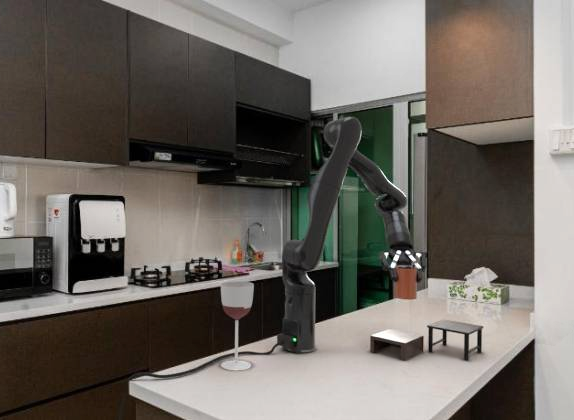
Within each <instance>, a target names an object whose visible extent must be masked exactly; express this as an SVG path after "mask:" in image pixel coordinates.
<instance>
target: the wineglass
mask: <svg viewBox="0 0 574 420" xmlns="http://www.w3.org/2000/svg"><path fill="white" fill-rule="evenodd" d="M254 289H255V284H254V283H253V282H249V281H226V282H221V283H220V297H221V305H222V308H223V312H224V313H225V314H226V315H227V316H229V318H232V319H233V320H234V326H235V327H234V353H235V355H234V360H226V361H224V362H222V363H221V364H220V366H221V368H222V369H225V370H228V371H246V370H249V369H250V368H251V367H252V364H251V363H250V362H248V361H245V360H239V355H238V352H239V320H241V319H242V318H243V317H246V316H247V315H248V314H249V313H250V311H251V308H252V305H253V299H254V291H255V290H254Z"/></svg>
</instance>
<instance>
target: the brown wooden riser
mask: <svg viewBox="0 0 574 420" xmlns="http://www.w3.org/2000/svg"><path fill="white" fill-rule="evenodd" d="M424 337H425V336H424V335H422V334H418V333H413V332H408V331H402V330H398V329H393V328H388V329H385V330H383V331H380V332H377V333H373V334H371V335H370V339H369V340H370V341H369V342H370V343H369V352H370V353H372V354H375V353H377V352H380V351H382V350H384V349H387V348H389V347H393V348H394V347H395V348H398V349H400V360H401V361H407V360H409V359H411V358H414V357H416V356H418V355H421V354H423V353H424V348H425V347H424V343H425V341H424V340H425V339H424Z"/></svg>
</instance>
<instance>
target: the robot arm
mask: <svg viewBox="0 0 574 420" xmlns="http://www.w3.org/2000/svg"><path fill="white" fill-rule="evenodd" d="M362 133H363V130H362V124H361V122H360V120H359V119H358V118H356V117H355V116H346V117H341V118H338V119H335V120H331V121H329V122H328V123H327V124H325V125H324V128H323V138H324V141H325V142H326V144H327V145H328V146H329V147H330V149H331V150H332V151H331V154H330V155H329V157H328V158H327V159H326V161H325V162H324V163H323V164H322V166H321V167H320V168H319V169H318V171H317V172H316V173H315V175H314V177H313V179H312V181H311V183H310V188H309V189H308V192H307V195H306V196H307V197H306V207H307V212H308V213H307V214H308V224H307V225H308V226H307V229H306V232H305V235H304V237H303V239H298V238H295V239H293V238H292V239H289V240H287V242H286V243H285V244H284V246H283V249H282V253H281V272H282V282H283V285H284V317H283V318H282V333H279V334H276V343H275V344H274V345H273V346H272V348H271V349H270V350H269V351H265V352H257V351H251V350H249V351H248V350H246V351H245V350H244V351H238V356H239V355H240V356H241V355H254V356H255V355H257V356H268V355H271V354H272V353H274V351H275V349H276V348H278V347H279V346H280V347H281V348H282V350H285V351H288V352H292V353H295V354H303V353H310V352H314V351H315V350H316V344H315V343H316V283H315V282H314V281H313V280H312V279H311V278H310V277H309V276H308V273H307V272H312V271H314V270H316V269H317V268H318V267H319V265H320V263H321V261H322V258H323V253H324V250H325V245H326V241H327V236H328V232H329V227H330V225H331V221H332V218H333V215H334V210H335V208H336V206H337V203H338V199H339V197H340V194H341V191H342V187H343V183H344V181H345V177H346V175H347V172H348V169H349V168H350V169H351V170H353V171H354V173H355V174H356V175H357V176H358V177H359V179H360V180H361V181H362V183H363V184H364V186H365V187H366V188H367V190H368V191H369V193H370V194H372V195H373V196H378V197H377V198H376V199H375V201H374V206H375V209H376V211H377V212H378V214H379V216H380V218H381V219H382V223H383V224H384V233H385V241H386V246H387V252H385V251H384V250H381V251H380V252H379V255H378V258H379V261H380V264H381V268H382V271H384V272H389V276H390V280H391V281H393V283H395V282H397V274H396V269H395V267H397V266H407V267H414V268H417V284H420V283H421V282H422V281H423V273H424V272H426V269H427V266H428V265H427V256H426V254H427V253H426V252H425V251H421V253H419V252H416V251H415V250H414V245H413V240H412V236H411V232H410V229H409V227H408V224H407V219H406V216H405V214H404V212H403V211H401V210H403V209H405V208H406V207H407V205H408V198H407V196H406V195H405V193H404V192H403V191H402V190H401V189H400V188H399V187H396V186H395V185H394V184H393V183H392V182H390V181H389V180H388V178H387V177H386V175H385V174H384V172H383V171H382V170H381V168H380V167H379V166H378V165H377V164H376V163H375V162H374V161H372V160H371V159H370V158H368V157H367V156H365V155H364V154H362V153H361V152H360V151H359V150H358V149H357V148H358V145H359V143H360V141H361V137H362ZM380 195H381V196H380ZM388 258H389V259H390V260H391V261H392V262H391V264H389V262H388V260H387V259H388ZM418 262H419V263H418ZM233 356H234V357H235V352H230V353H227V354H223V355H219V356H217V357H215V358H213V359H211V360H209V361H207V362H204V363H202V364H200V365H199V366H196V367H194V368H191V369H188V370H185V371H181V372H175V373H168V374H157V373H151V372H145V371H140V372H136V373H134V374H132V375H131V376H129V377H128V378H127V379H126V382H131V381H132V380H133V379H134V378H136V377H141V376H145V377H151V378H155V379H156V378H157V379H170V378H176V377H181V376H184V375H185V376H186V375H188V374H192V373H194V372H196V371H199V370H201V369H203V368H205V367H207V366H209V365H211V364H213V363H216V362H217V361H220V360H222V359H226V358H229V357H233ZM126 395H127V389H125V388H123V389H122V397H121V403H120V408H119V415H118V420H123V413H124V407H125V401H126V397H127V396H126Z"/></svg>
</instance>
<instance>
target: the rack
mask: <svg viewBox="0 0 574 420" xmlns="http://www.w3.org/2000/svg"><path fill="white" fill-rule="evenodd" d="M426 328H427V329H428V337H427V338H428V342H427V343H428V344H427V347H428V348H427V352H428V353H433V349H434V348H433V347H434V346H436V345H438V344H440V343H442V346H443V347H447V345H448V344H447V341H448V340H447V339H448V332H450V333H455V334H460V335H463V336H464V337H463V338H464V339H463V360H464V361H466V362H468V361H469V360H470V353H473V352H474V351H476V353H477V354H482V352H483V351H482V349H483V347H482V345H483V343H482V342H483V341H482V340H483V329H484V326H483V325H479V324H473V323H467V322H462V321H461V322H460V321H456V320H455V321H454V320H450V319H444V318H443V319H441V320H438V321H435V322H433V323H429V324H427V325H426ZM434 330H439V331H442V338H441V339H438V340H435V341H434ZM475 333H476V334H477V335H476V345H475V346H474V347H472V348H470V335H472V334H475Z"/></svg>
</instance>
